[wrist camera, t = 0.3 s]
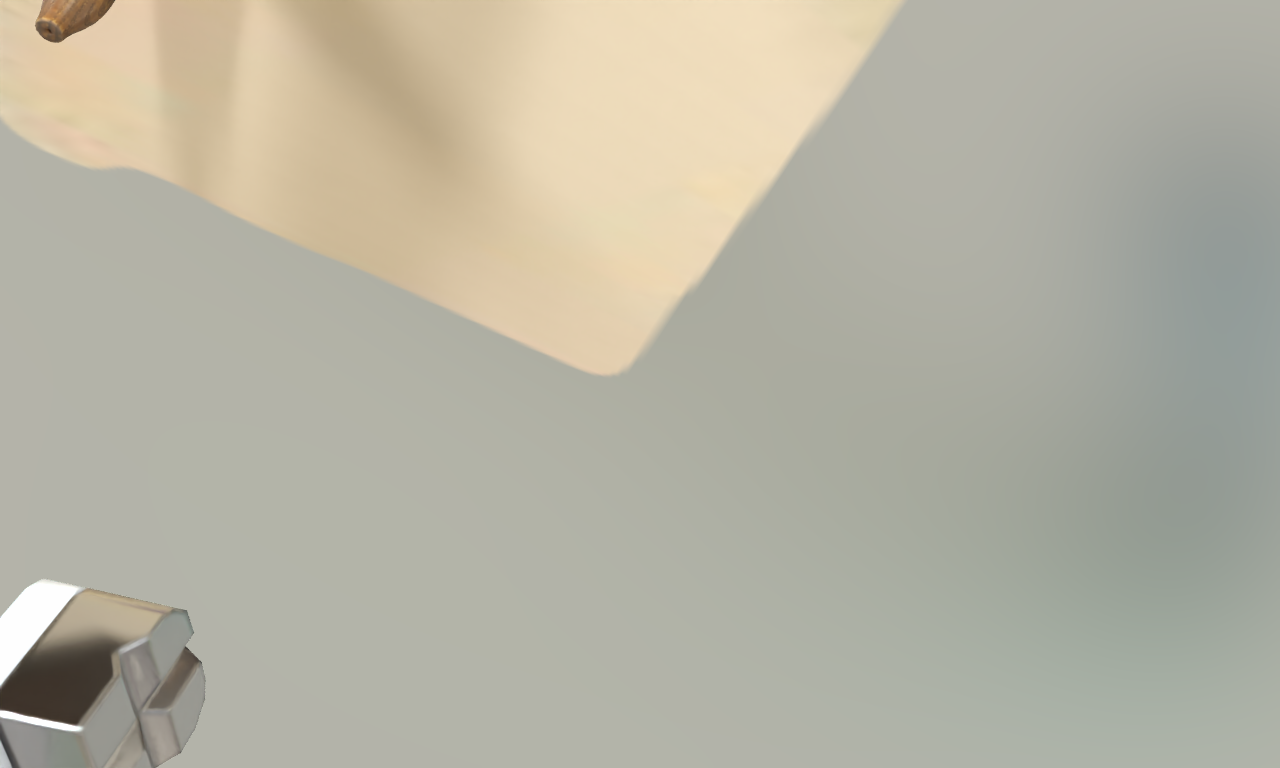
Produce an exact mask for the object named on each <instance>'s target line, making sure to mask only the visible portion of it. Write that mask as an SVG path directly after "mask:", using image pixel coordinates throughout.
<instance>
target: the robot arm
mask: <svg viewBox="0 0 1280 768" xmlns="http://www.w3.org/2000/svg"><path fill="white" fill-rule="evenodd" d="M193 633H194V631H193V628H192V625H191V622H190V619H189V616H188V612H187V610H183V609H178V608H174V607H170V606H165V605H161V604H156V603H152V602H147V601H143V600H138V599H134V598H130V597H125V596H121V595H116V594H111V593H107V592H103V591H99V590H94V589H91V588H86V587H81V586H76V585H71V584H67V583H62V582H57V581H52V580H47V579H42V580H40V581H38V582H36V583H35V584H33V585H31V586H29V587H27V588H26V589H25V590H24V591H23V592H22V593H21V594H20V596H19V597H18V598H17V599H16V600H15V601H14V602H13V604H12V605H11V606H10V607H9V608H8V609H7V610H6V611H5V613H4V614H3V615H2V616H1V617H0V768H156V767H158V766H159V765H161V764H163V763H164V762H166V761H168V760H169V759H171V758H172V757H174V756H176V755H178V754H179V753H181V751H182V750H183V748H184V747H185V745H186V743H187V741H188V740H189V738H190V736H191V735H192V733H193V731H194V730H195V728H196V725H197V722H198V719H199V715H200V712H201V709H202V706H203V703H204V699H205V675H204V671H203V666H202V662H201V661H200V660H199V659H198V658H197V657H196V656H195V655H194V654H193V653H191V651H190V650H189V649H188V648H187V647H186V644H187V643H188V641H189V639H190V638H191V636H192V635H193Z"/></svg>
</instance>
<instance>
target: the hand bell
mask: <svg viewBox="0 0 1280 768" xmlns="http://www.w3.org/2000/svg"><path fill="white" fill-rule="evenodd" d="M114 1H115V0H43V3H42V7H41V11H40V14H39V16H38V18H37V20H36V24H35V27H36V30H37V31H38V32H39V34H40V35H41V36H42V37H43V38H44V39H46V40H48V41H50V42H57V43H59V42H61V41H63V40H64V39H65V38H67V37H68V36H70V35H72V34H74V33H76V32H79V31H81V30H84V29H86V28H87V27H89V26H91V25H93V24H94V23H96V22H97V21H98V20H99V19H100V18H102V17H103V16H104V15H105V13H106V12H107V11H108V10H109V8H110V7H111V6H112V4H113V3H114Z"/></svg>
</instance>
